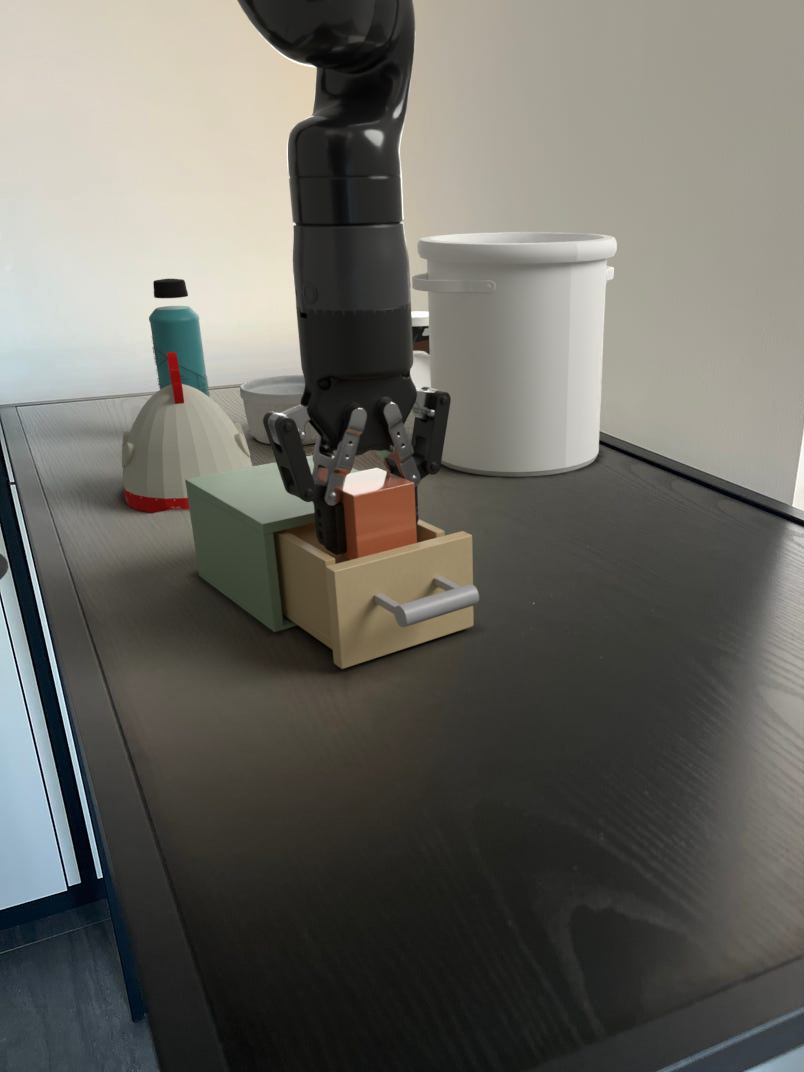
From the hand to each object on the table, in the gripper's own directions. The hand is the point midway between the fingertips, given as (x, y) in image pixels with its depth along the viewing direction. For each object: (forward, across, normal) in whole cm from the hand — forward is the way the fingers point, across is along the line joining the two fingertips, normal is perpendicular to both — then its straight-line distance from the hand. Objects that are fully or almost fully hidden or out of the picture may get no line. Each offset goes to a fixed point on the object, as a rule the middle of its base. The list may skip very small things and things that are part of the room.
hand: (369, 541), depth 71 cm
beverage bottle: (+8, -13, -68) cm, 70 cm away
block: (0, 0, 0) cm, 0 cm away
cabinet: (+8, 0, -12) cm, 14 cm away
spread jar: (+8, -53, -72) cm, 90 cm away
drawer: (+7, 0, +1) cm, 7 cm away
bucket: (+8, -40, -32) cm, 52 cm away
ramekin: (+8, -24, -60) cm, 65 cm away
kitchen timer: (+8, -3, -44) cm, 44 cm away
